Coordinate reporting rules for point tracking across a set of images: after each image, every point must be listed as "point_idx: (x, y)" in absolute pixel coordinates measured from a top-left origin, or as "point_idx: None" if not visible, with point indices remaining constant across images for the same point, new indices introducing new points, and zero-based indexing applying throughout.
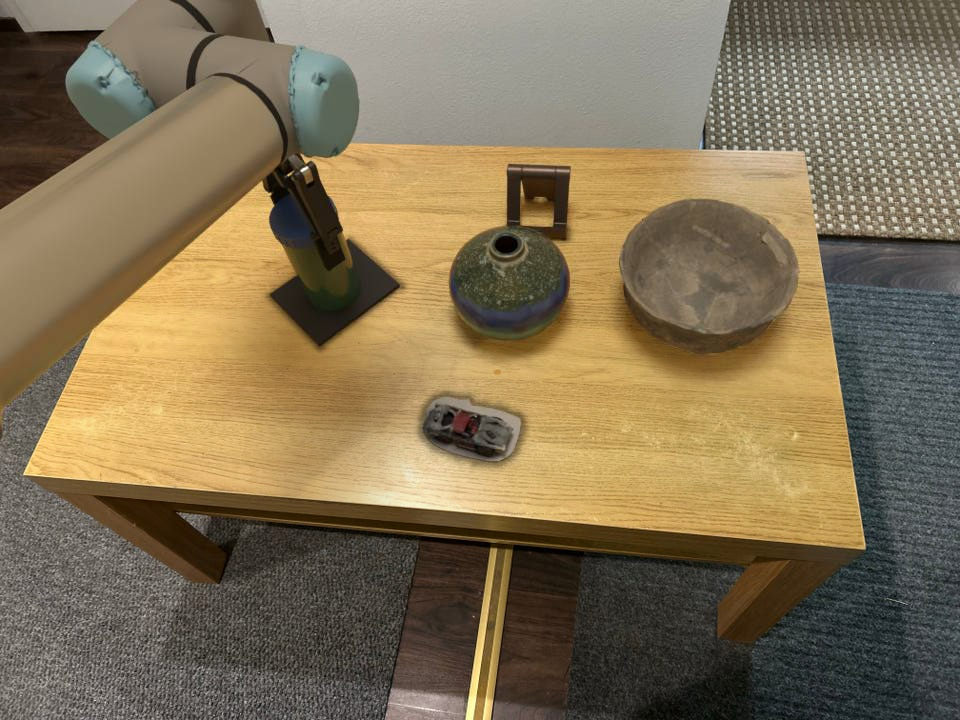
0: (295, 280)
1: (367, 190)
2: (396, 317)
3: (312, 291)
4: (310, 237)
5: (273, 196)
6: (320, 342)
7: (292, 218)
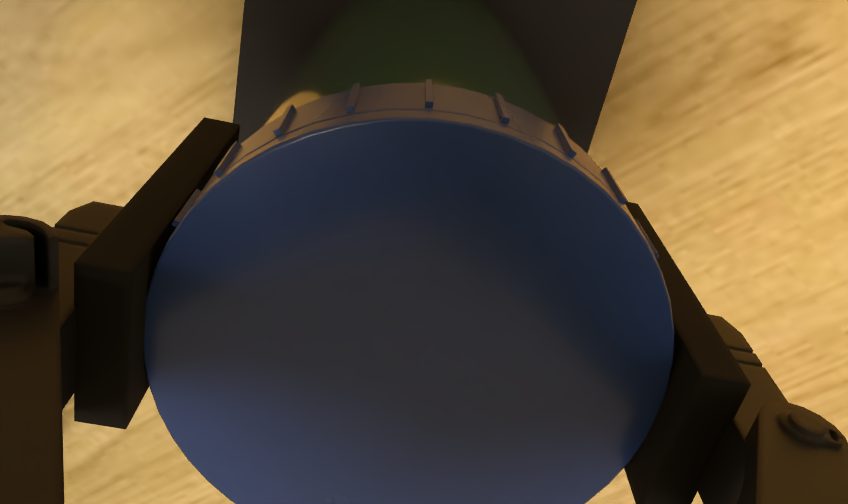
0: (600, 45)
1: (622, 484)
2: (126, 132)
3: (379, 7)
4: (10, 239)
5: (713, 394)
6: None
7: (439, 306)
